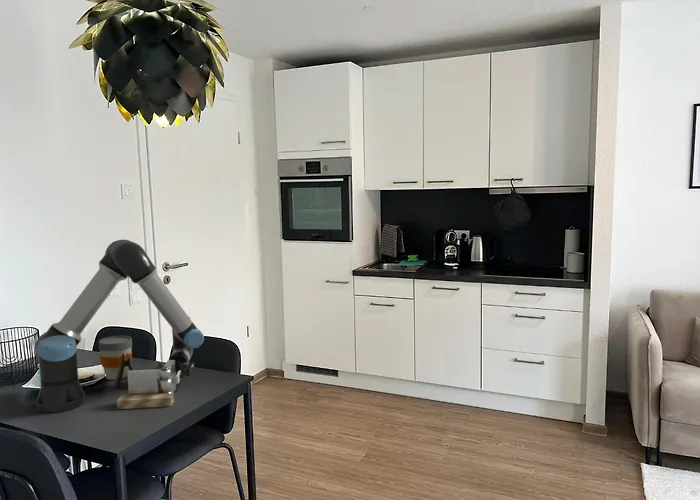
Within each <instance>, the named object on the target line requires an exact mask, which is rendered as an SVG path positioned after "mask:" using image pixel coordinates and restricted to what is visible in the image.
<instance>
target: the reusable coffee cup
mask: <svg viewBox="0 0 700 500" xmlns="http://www.w3.org/2000/svg"><path fill="white" fill-rule="evenodd" d="M132 346H133V340H132V337H131V336H129V335H113V336H109V337H105V338H104V337H103V338H102V339H100V340H99V341H98V350H99V353H100V354H99V358H100V363H101V367H102V368H103V371H104V375H105V374H106V377H105V379H107V380H116V377H117V374H118V371H119V368H120V365H121V362H122V359H121V356H122V354H124V356H125V358H124V359H123V360H127V359H128V358H127V355H126V353H128V354H129V355H130V362H131V363H132V359H133V350H132ZM128 372H129V368H128V366H125V367H124V371H123V376H122V379H124V378H126V377H127V378H128Z"/></svg>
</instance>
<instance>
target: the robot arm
mask: <svg viewBox="0 0 700 500" xmlns="http://www.w3.org/2000/svg"><path fill="white" fill-rule="evenodd" d="M98 266H99V268H98V270H97V272H95V274H94V276H93V277H92V278H91V280H90V281H89V282H88V284H86V286H85V287H84V289H83V290H82V291H81V293H80V294H79V295H78V297H77V298H76V299H75V300H74V302H73V303H72V305H71V306H70V308H69V309H68V310H67V311H66V313H65V314H64V315H63V317H62V318H61V319H60V321H58V322H54V323H52V324H51V325H50V327H49V328H48V329H47V330H46V331H45V332H44V333H42V334H41V335H40V336H39V337H38V338H37V340H36V342H35V346H34V354H35V357H36V358H37V361H38V364H39V365H38V366H39V377H40V378H39V379H40V388H39V392H38V395H37V399H36V403H35V404H36V410H37V411H38V412H42V413H59V412H65V411H70V410H73V409H74V408H75V409H76V408H78V407H79V406H81V405H84V403H85V401H86V394H85V392H84V390H83V387H82V384H81V382H80V380H79V369H78V355H77V350H78V345H79V343H80V342H81V341H82V336H81V334H82V333H83V331H84V329H86V327H87V326H88V325H89V323H90V322H91V320H92V319H93V317H94V316H95V315H96V313H97V312H98V311H99V309H100V308H101V306H102V305H103V304H104V302H105V301H106V300H107V299H108V298H109V296H110V295H111V293H112V292H113V291H114V290H115V288H116V287H117V285H118V284H119V282H121V281H125V280H127V278H129V279H130V280H131V282H132V283H133V284H137V285H138V286H139V288H140V289H141V290H142V291H143V293H144V294H145V295H146V297H147V298H148V299H149V301H151V303H152V304H153V305H154V307H155V308H156V309H157V311H158V312H159V314H161V315H162V317H163V318H164V319H165V321H166V322H167V323H168V325H169V326H170V327H171V334H172V353H171V354H170V357H168V360H175V371H176V373H177V374H176V385H179V383H180V381H181V380H182V379H184V377H185V376H187V377H190V376H191V372H192V370H194V369H195V366H194V365H195V361H190V360H191V358H192V356H193V354H194V349H197V348H200V346H202V344H203V343H204V341H205V336H204V334H203V332H202V331H201V330H200V329H199V328H198V327H197V326H196V325H195V323H194V322H193V320H191V317H190V316H188V314H187V312H186V311H185V310H184V308H183V307H182V306H181V304H180V303H179V302H178V300H177V299H176V298H175V297H174V295H173V293H171V291H170V290H169V288H168V287H167V285H166V284H165V283H164V282H163V280H162V279H161V278H160V276H159V275H158V274H157V272H156V270H157V268H156V266H155V265H154V263H153V262H152V261H151V259H150V257H149V256H148V254H147V252H146V251H145V250H144V248H143V247H142V246H141V245H140V244H138V243H136V242H134V241H131V240H129V239H118V240H115V241H113V242H111V243H110V244H109V245H108V246H107V248H106V250H105V252H104V255H103V257H102V258H101V259H100V260H99V262H98ZM157 365H158V366H157V368H156V369H161V368H162V367H164V365H165V364H163V363H161V362H159V363H157ZM159 386H160V378H159Z"/></svg>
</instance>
